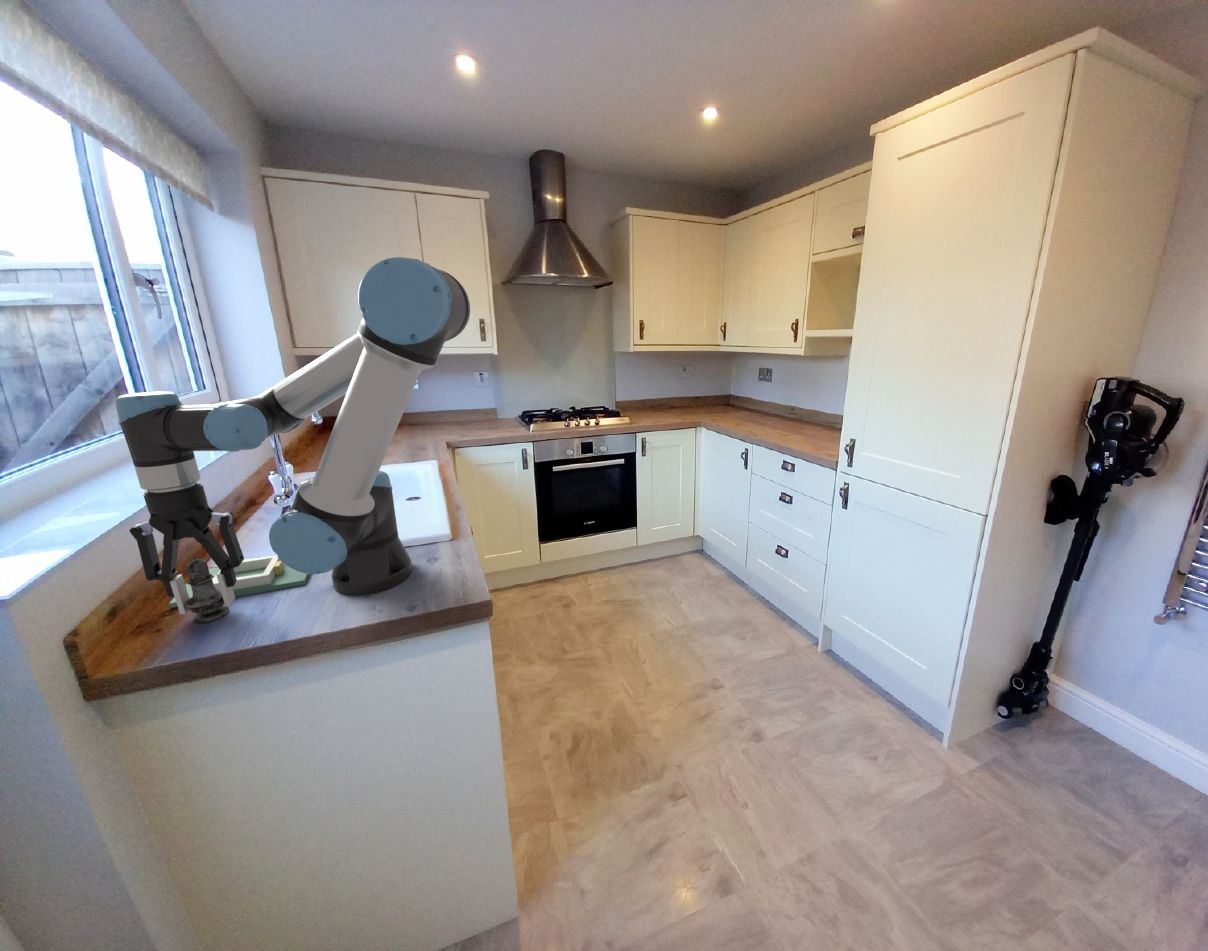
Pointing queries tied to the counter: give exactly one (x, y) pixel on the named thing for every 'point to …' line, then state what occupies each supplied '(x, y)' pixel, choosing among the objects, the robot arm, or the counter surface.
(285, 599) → the counter surface
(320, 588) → the counter surface
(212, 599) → the dark grey tiered ornament
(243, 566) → the header board
